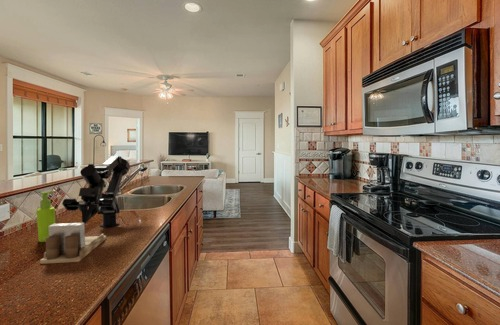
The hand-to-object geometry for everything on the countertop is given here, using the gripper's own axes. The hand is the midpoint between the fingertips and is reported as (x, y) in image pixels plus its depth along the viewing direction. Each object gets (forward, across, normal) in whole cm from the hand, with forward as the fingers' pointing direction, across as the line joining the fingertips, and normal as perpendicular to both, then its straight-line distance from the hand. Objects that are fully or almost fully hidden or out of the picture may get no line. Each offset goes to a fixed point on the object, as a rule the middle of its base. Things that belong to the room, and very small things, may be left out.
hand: (83, 223), depth 103 cm
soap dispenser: (+1, -17, +13) cm, 21 cm away
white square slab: (+13, 0, -4) cm, 13 cm away
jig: (+10, 0, +2) cm, 10 cm away
